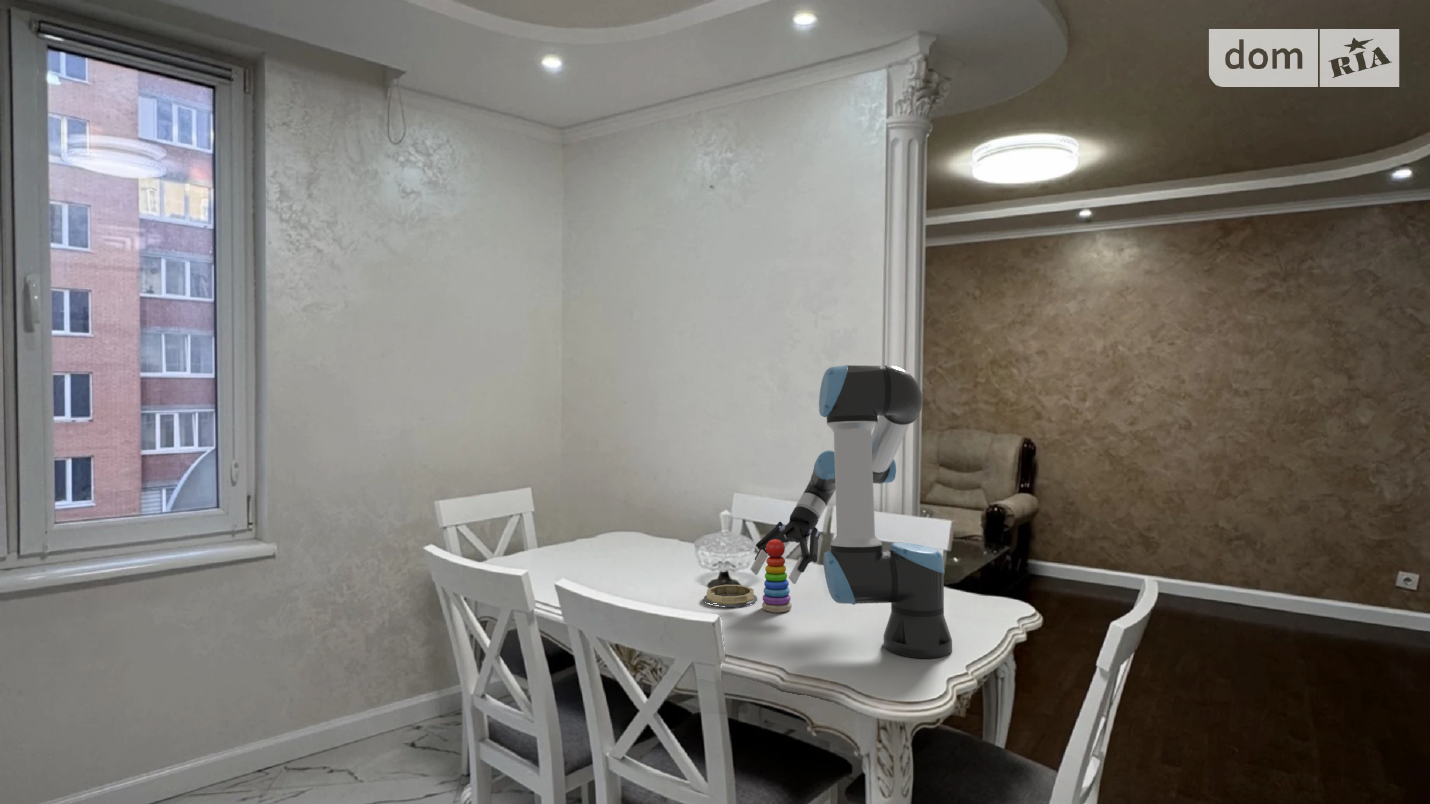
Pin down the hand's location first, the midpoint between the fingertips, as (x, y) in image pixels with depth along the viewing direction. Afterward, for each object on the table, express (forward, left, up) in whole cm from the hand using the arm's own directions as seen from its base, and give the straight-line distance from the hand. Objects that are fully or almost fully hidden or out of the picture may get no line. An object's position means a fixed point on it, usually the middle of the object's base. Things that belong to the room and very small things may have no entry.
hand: (772, 576), depth 202 cm
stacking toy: (+1, -1, -9) cm, 9 cm away
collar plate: (+9, +12, -9) cm, 17 cm away
